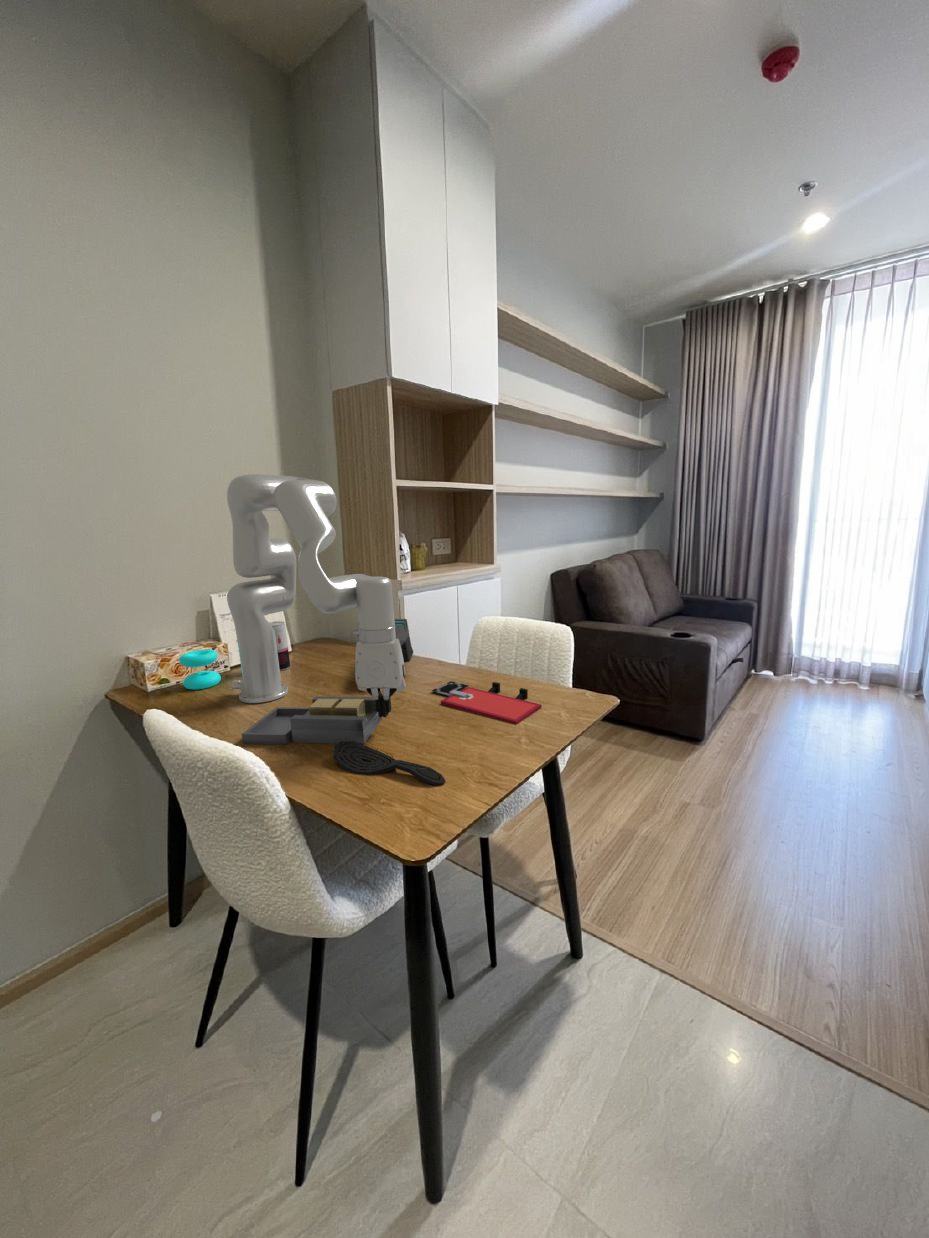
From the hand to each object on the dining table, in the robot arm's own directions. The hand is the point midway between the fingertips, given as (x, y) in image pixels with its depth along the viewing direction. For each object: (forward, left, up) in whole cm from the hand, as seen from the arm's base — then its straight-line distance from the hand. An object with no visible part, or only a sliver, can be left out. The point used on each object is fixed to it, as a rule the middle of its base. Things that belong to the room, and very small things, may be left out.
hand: (384, 714), depth 109 cm
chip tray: (-25, 0, -4) cm, 25 cm away
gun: (-11, +42, -4) cm, 44 cm away
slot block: (-11, 0, -4) cm, 11 cm away
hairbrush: (+5, -16, -5) cm, 18 cm away
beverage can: (-49, +45, -4) cm, 66 cm away
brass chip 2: (-8, 0, -1) cm, 8 cm away
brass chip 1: (-14, 0, -1) cm, 14 cm away
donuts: (-65, +29, -4) cm, 71 cm away
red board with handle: (+20, +19, -5) cm, 28 cm away
